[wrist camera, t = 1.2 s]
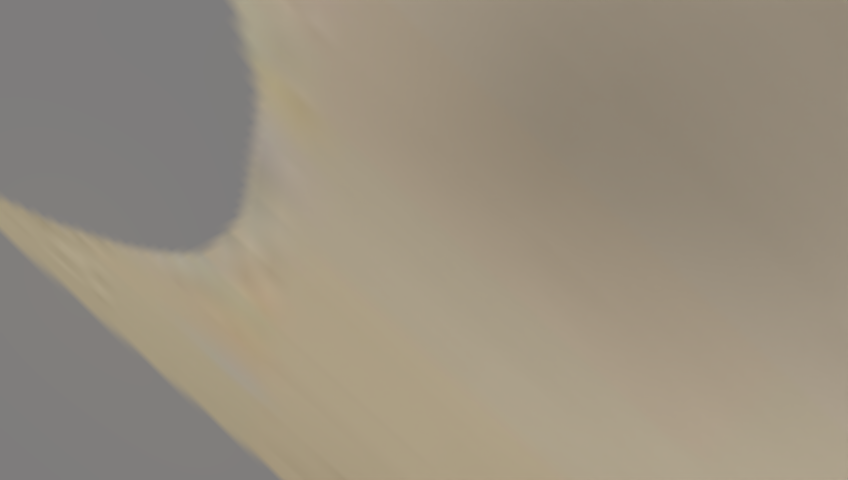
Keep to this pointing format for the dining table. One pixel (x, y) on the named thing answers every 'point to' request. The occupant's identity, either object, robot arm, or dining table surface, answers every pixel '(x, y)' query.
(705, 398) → the dining table surface
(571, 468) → the dining table surface
